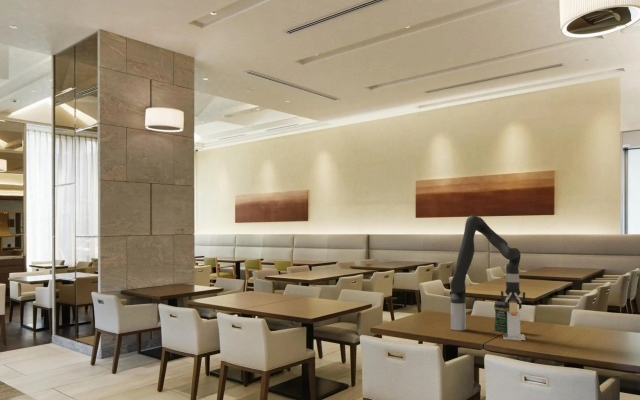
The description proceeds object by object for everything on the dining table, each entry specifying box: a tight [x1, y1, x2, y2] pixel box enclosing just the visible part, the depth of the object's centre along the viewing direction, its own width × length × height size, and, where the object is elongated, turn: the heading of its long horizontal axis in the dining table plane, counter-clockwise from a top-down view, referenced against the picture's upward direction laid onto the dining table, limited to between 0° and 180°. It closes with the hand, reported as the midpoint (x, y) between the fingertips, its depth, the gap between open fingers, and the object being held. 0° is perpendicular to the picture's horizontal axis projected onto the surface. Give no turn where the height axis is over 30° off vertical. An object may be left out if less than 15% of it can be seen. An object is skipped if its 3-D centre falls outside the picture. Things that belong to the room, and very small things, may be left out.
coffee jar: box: [493, 301, 509, 333], centre depth 307 cm, size 10×8×19 cm
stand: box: [502, 311, 526, 341], centre depth 287 cm, size 12×12×15 cm
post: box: [508, 299, 518, 313], centre depth 288 cm, size 4×4×21 cm
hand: (513, 308), depth 288 cm, fingers open, 6 cm apart
